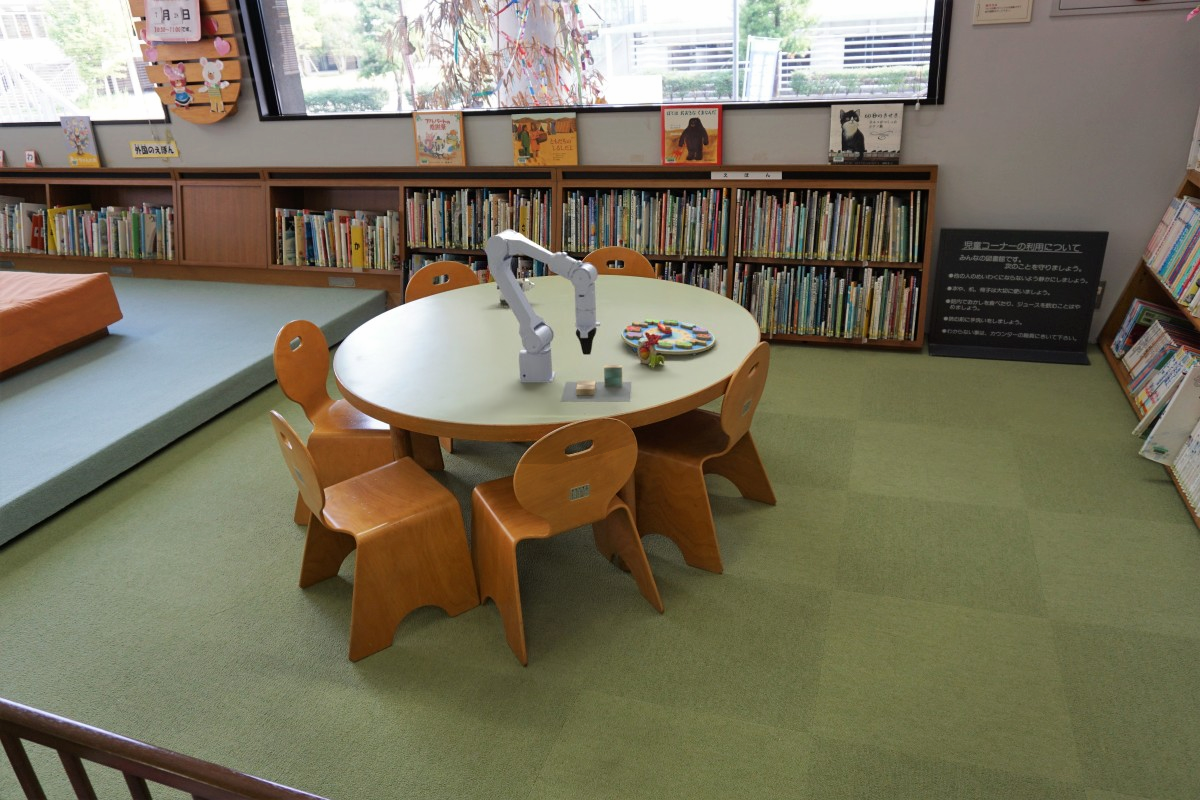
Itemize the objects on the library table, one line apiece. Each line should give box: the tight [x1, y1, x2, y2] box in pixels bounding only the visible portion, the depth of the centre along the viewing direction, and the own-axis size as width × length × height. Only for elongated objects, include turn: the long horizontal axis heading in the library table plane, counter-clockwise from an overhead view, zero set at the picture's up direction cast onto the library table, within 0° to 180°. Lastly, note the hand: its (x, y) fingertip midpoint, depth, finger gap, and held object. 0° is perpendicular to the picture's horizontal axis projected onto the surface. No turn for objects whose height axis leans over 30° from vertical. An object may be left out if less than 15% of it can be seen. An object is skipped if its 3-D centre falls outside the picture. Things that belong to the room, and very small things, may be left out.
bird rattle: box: [636, 332, 665, 369], centre depth 244 cm, size 6×11×9 cm
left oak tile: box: [576, 380, 597, 395], centre depth 227 cm, size 5×2×6 cm
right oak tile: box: [603, 364, 623, 387], centre depth 230 cm, size 5×2×6 cm, turn 86°
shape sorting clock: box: [620, 318, 716, 355], centre depth 264 cm, size 31×30×6 cm
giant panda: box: [496, 277, 536, 306], centre depth 310 cm, size 15×6×10 cm, turn 103°
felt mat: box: [560, 381, 632, 403], centre depth 228 cm, size 19×14×1 cm
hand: (586, 353), depth 231 cm, fingers closed
